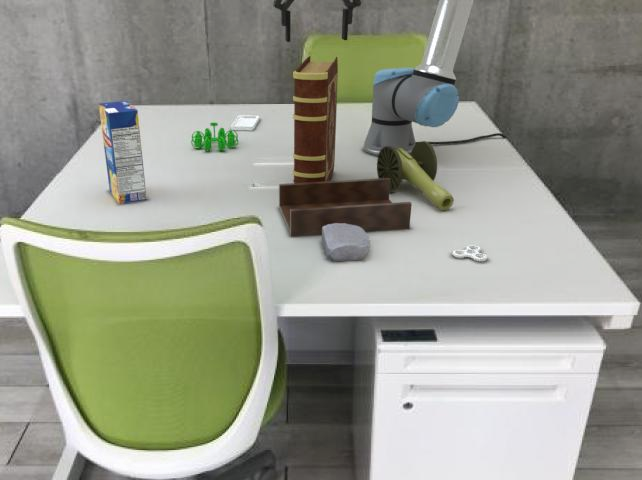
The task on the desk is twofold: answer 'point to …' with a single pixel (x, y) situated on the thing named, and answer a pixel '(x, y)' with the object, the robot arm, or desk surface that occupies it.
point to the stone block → (345, 242)
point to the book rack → (341, 206)
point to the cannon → (414, 171)
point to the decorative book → (315, 120)
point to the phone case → (245, 123)
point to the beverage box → (123, 151)
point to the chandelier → (214, 139)
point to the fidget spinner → (470, 253)
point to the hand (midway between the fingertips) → (316, 40)
